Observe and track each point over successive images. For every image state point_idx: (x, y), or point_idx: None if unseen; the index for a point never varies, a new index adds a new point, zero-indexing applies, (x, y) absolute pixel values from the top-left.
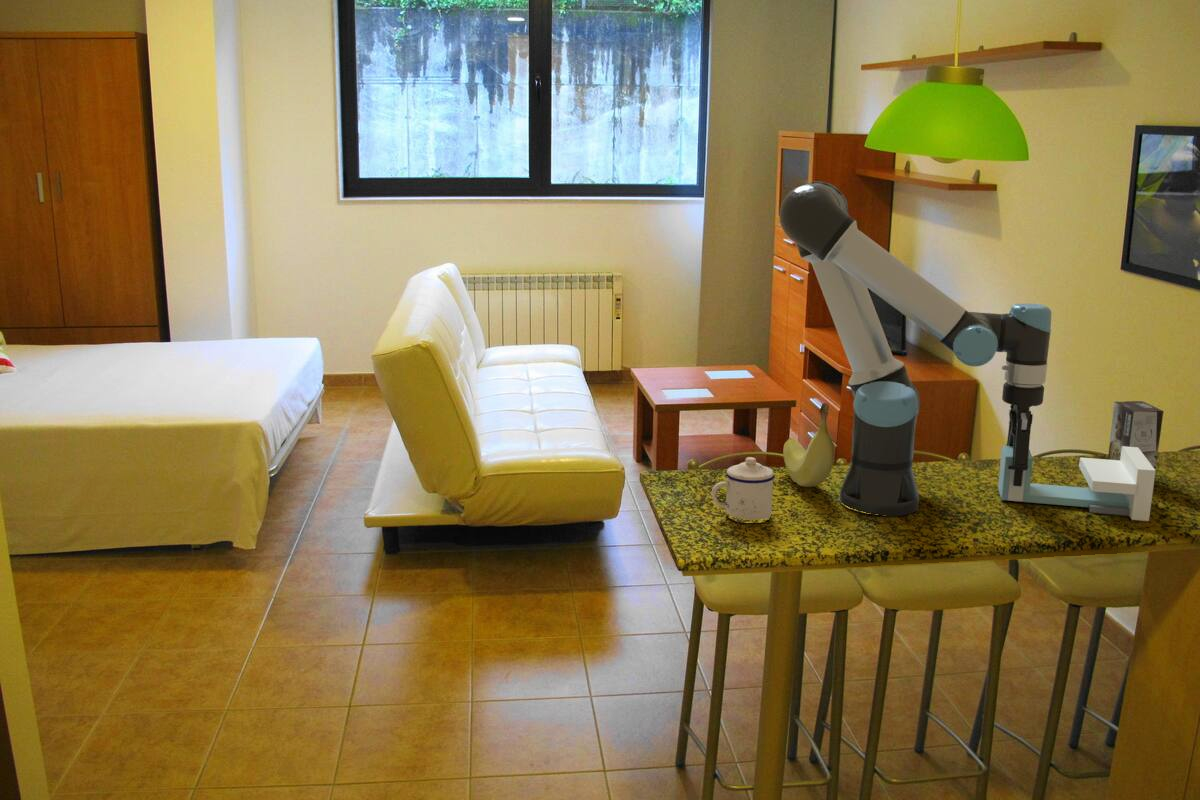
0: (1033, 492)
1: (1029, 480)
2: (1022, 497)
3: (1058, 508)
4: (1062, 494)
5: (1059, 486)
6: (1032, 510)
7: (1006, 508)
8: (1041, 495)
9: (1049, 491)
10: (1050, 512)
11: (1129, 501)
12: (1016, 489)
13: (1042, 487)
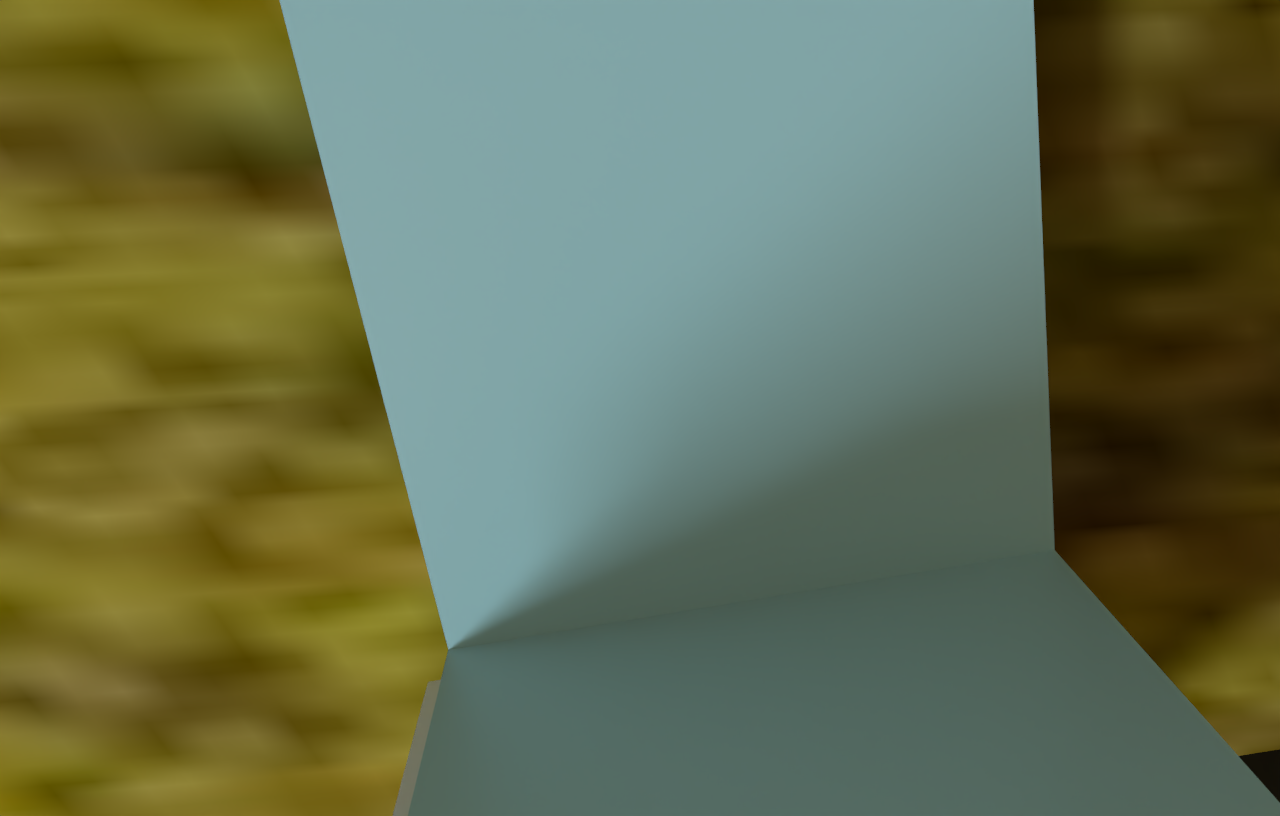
0: (902, 503)
1: (1171, 697)
2: None
3: (1046, 96)
4: (837, 66)
5: (376, 136)
6: (1239, 421)
7: (1241, 696)
8: (1020, 386)
9: (755, 283)
10: (1264, 196)
11: None
12: None
13: (571, 398)
